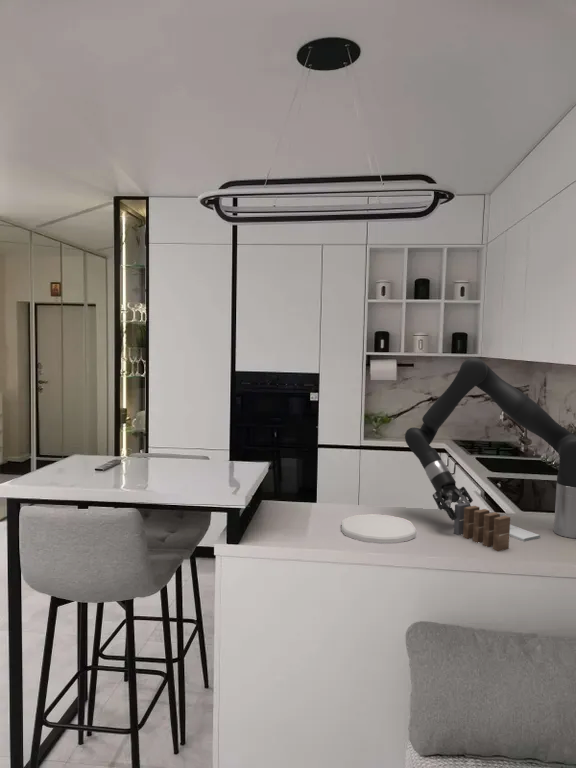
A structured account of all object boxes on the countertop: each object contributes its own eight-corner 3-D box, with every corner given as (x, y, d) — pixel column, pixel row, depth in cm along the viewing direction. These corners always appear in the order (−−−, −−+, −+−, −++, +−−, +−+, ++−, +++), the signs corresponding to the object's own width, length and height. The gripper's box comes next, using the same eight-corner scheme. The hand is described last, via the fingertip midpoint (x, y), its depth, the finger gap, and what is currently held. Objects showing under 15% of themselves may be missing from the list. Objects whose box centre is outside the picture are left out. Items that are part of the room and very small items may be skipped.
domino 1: (453, 533, 191) (454, 504, 190) (463, 531, 194) (465, 502, 193) (458, 535, 189) (459, 506, 188) (468, 532, 192) (469, 504, 191)
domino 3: (472, 541, 184) (474, 510, 183) (483, 538, 187) (484, 508, 186) (477, 543, 182) (479, 512, 182) (488, 540, 185) (489, 510, 184)
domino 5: (492, 549, 177) (494, 517, 177) (503, 546, 180) (504, 515, 179) (498, 551, 176) (499, 519, 175) (508, 548, 178) (510, 517, 177)
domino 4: (482, 545, 181) (484, 514, 180) (493, 542, 183) (494, 512, 182) (487, 547, 179) (489, 516, 178) (498, 544, 182) (500, 513, 181)
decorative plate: (408, 509, 204) (422, 533, 179) (408, 521, 205) (422, 546, 180) (339, 507, 205) (343, 531, 180) (339, 518, 205) (343, 543, 181)
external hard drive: (523, 543, 185) (493, 531, 196) (540, 539, 189) (510, 528, 200) (523, 538, 185) (493, 526, 196) (540, 534, 188) (510, 523, 199)
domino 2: (462, 537, 188) (464, 507, 187) (473, 534, 190) (474, 505, 189) (467, 539, 186) (469, 509, 185) (478, 536, 188) (479, 507, 188)
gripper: (431, 472, 193) (455, 514, 184) (460, 468, 200) (484, 508, 191) (419, 484, 198) (442, 525, 189) (448, 479, 205) (471, 519, 196)
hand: (463, 517), depth 190 cm, fingers open, 8 cm apart
